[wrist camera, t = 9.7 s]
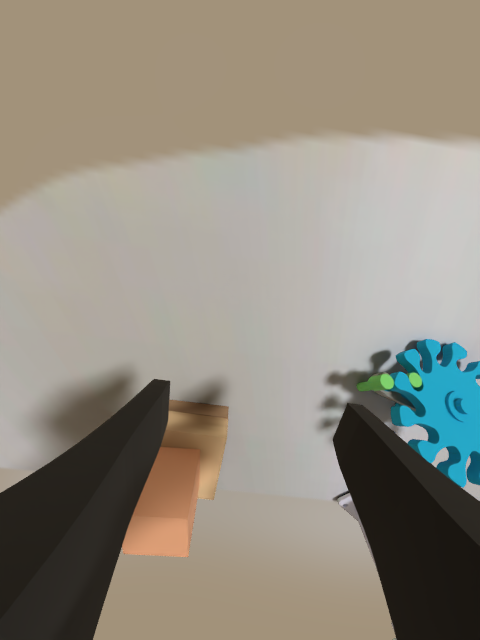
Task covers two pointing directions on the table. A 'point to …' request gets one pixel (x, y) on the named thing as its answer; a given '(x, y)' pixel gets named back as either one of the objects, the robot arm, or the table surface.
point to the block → (166, 506)
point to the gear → (437, 405)
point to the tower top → (199, 444)
